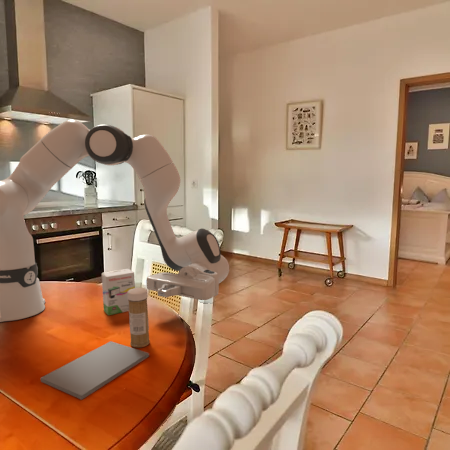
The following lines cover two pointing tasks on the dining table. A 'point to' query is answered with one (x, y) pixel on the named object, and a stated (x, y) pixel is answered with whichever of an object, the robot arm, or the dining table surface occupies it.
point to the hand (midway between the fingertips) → (161, 293)
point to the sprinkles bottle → (138, 317)
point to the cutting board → (94, 369)
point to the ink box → (117, 290)
